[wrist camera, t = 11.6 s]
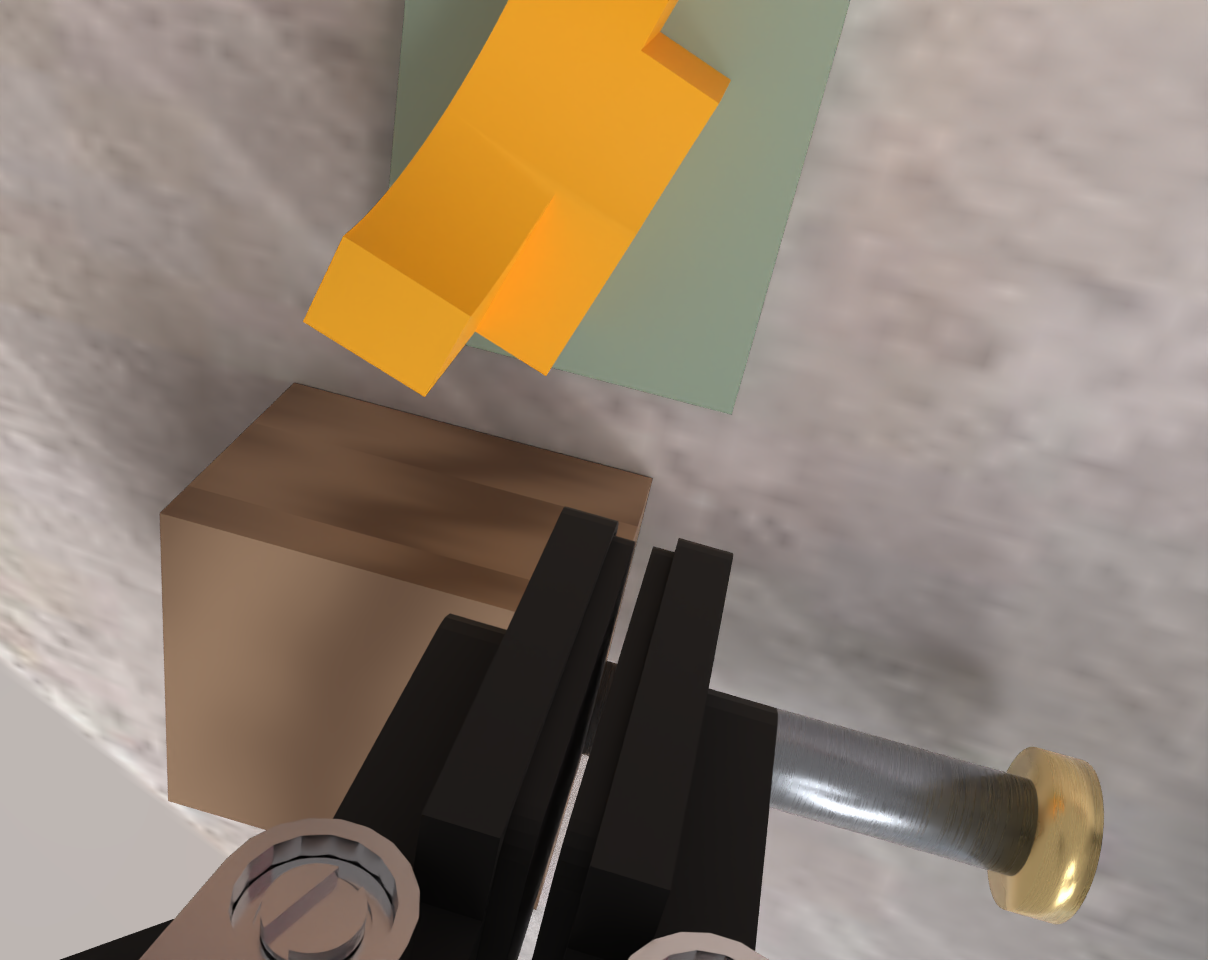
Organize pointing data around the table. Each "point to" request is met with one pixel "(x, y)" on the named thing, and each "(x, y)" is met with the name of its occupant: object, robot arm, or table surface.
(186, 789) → the shaft housing
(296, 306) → the table surface
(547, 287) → the pipe clamp
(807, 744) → the shaft
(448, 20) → the plate
